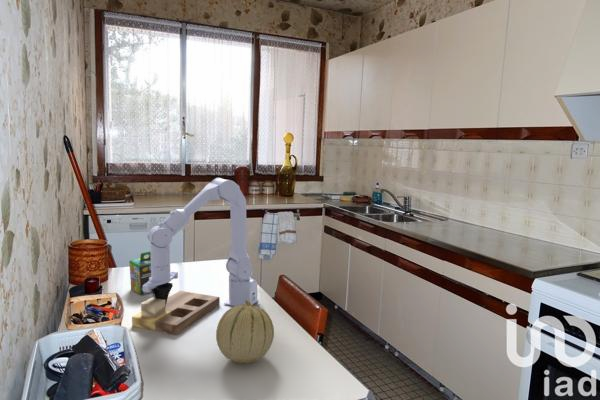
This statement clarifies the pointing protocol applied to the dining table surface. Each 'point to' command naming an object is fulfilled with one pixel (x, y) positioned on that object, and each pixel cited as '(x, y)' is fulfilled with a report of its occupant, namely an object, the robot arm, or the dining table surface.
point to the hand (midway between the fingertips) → (161, 306)
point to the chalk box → (140, 273)
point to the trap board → (178, 312)
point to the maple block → (153, 307)
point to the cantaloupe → (245, 333)
